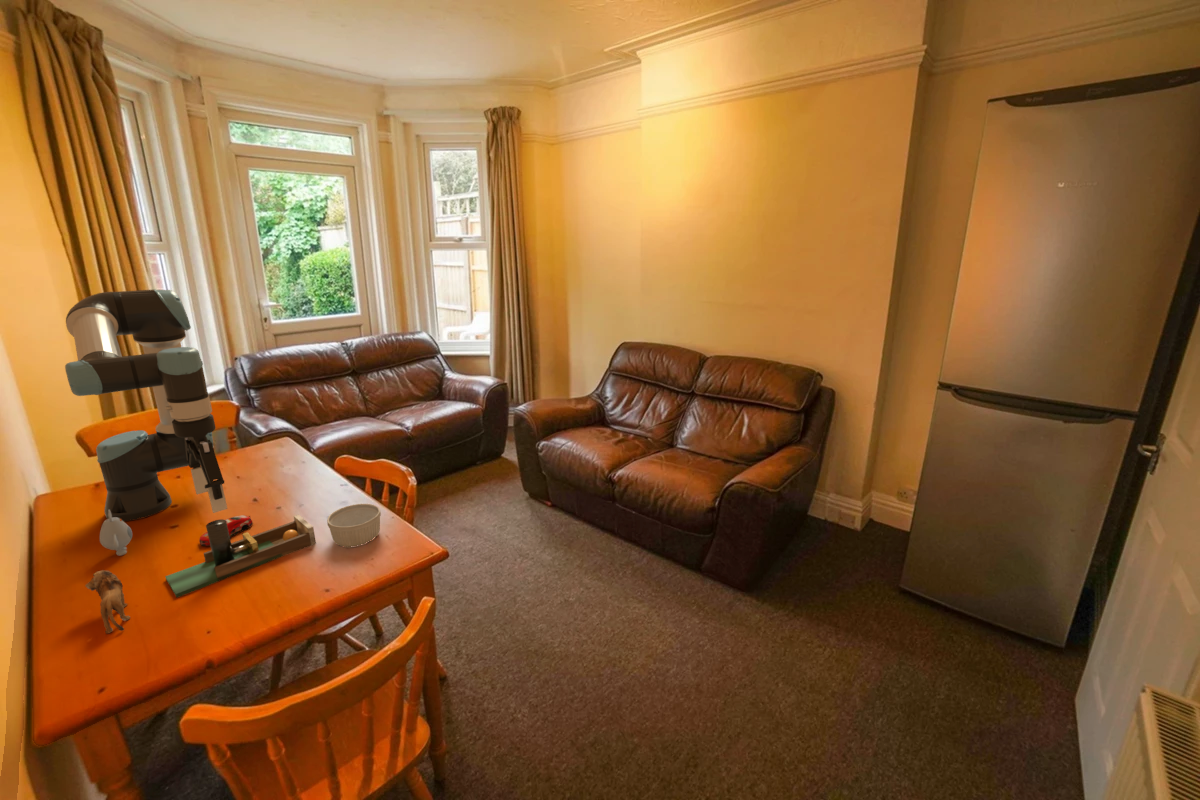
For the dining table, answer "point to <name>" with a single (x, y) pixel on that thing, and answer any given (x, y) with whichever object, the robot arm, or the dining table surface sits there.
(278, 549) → the lane
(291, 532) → the ball
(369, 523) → the ramekin
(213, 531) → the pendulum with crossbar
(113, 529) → the toy figure
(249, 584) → the dining table surface
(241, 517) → the race car
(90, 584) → the lion figurine
